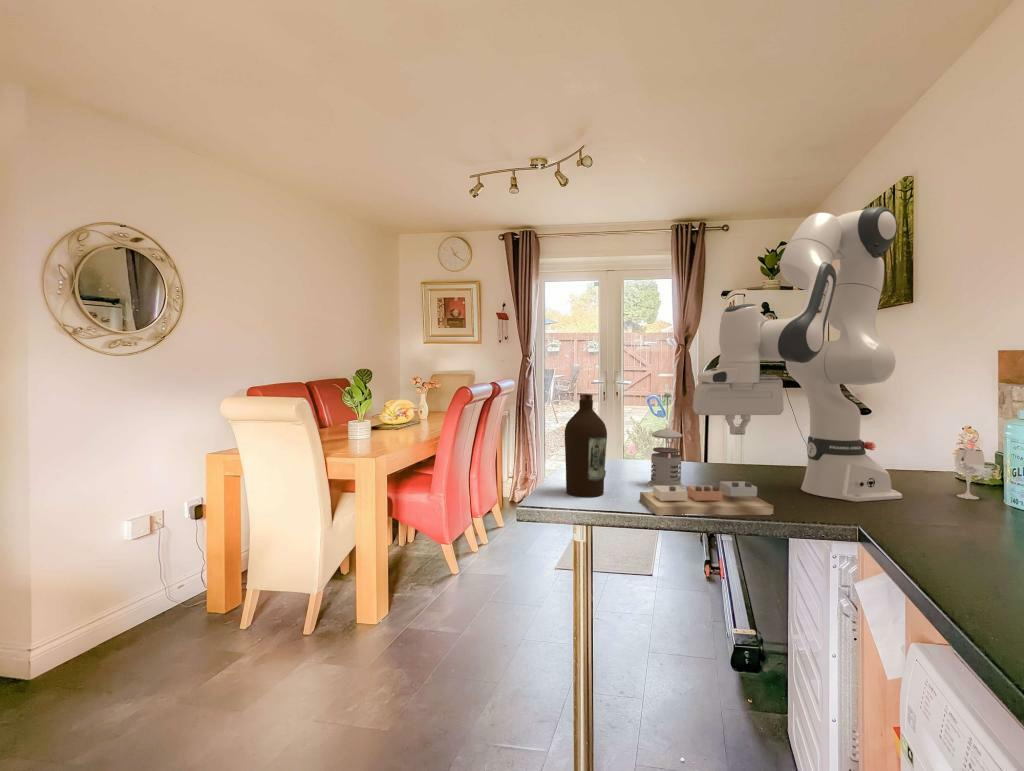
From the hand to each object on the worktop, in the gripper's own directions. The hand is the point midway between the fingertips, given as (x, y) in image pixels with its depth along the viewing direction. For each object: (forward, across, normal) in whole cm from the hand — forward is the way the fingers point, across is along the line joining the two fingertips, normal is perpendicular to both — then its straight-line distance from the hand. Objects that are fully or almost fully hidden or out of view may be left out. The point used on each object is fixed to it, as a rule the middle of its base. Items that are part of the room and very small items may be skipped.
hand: (737, 434), depth 129 cm
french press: (+17, +9, -22) cm, 29 cm away
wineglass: (+17, -63, -7) cm, 66 cm away
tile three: (+14, +8, +1) cm, 17 cm away
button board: (+17, +8, +1) cm, 19 cm away
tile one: (+14, +16, +1) cm, 22 cm away
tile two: (+13, 0, +1) cm, 13 cm away
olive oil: (+17, +33, -13) cm, 39 cm away
